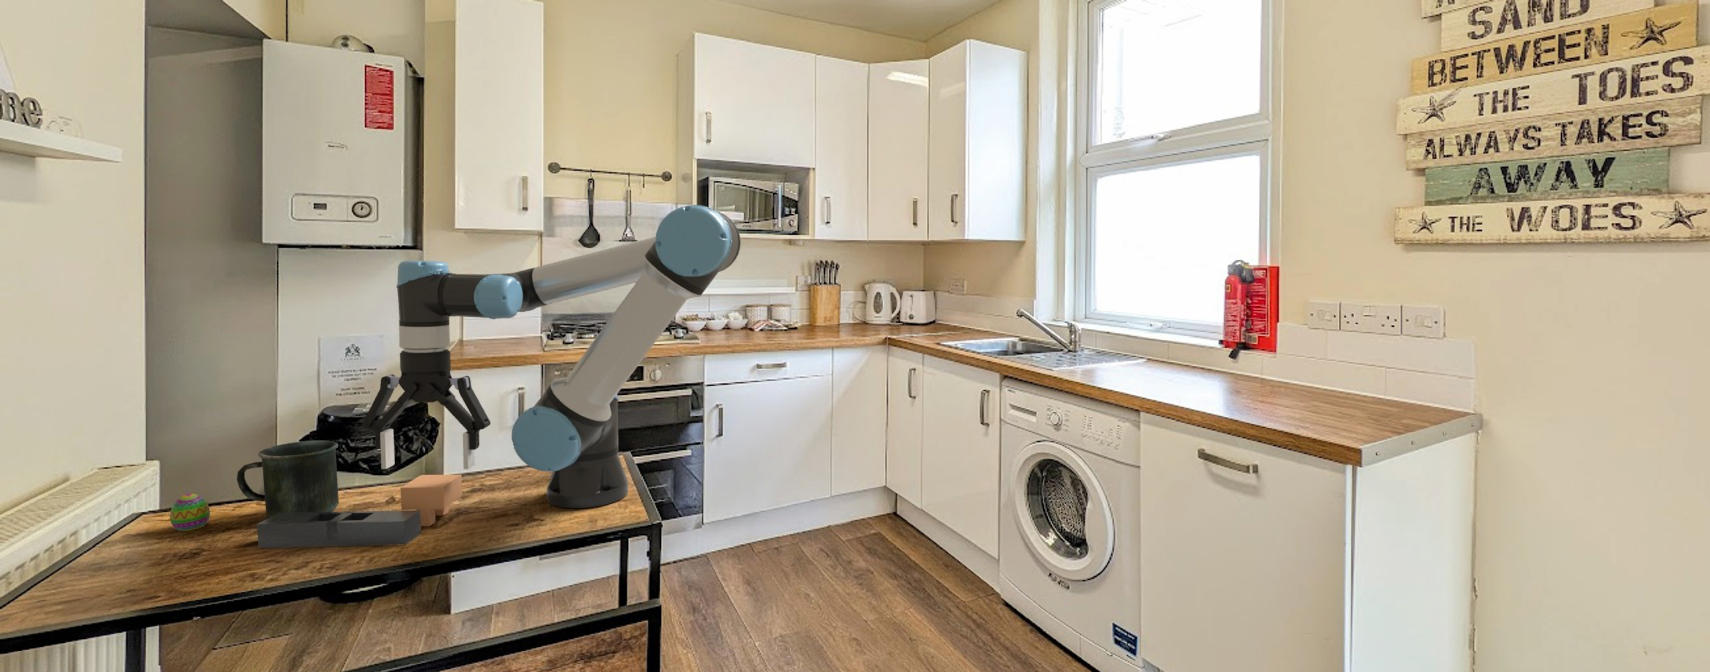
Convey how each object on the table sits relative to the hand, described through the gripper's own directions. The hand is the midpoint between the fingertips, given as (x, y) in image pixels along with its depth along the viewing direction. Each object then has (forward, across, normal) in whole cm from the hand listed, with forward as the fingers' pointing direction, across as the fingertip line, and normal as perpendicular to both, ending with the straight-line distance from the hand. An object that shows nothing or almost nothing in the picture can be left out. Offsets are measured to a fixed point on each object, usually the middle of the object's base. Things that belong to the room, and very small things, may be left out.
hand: (428, 467), depth 122 cm
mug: (+10, +25, -4) cm, 28 cm away
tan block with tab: (+10, -1, 0) cm, 10 cm away
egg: (+10, +37, +2) cm, 39 cm away
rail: (+10, +9, +9) cm, 16 cm away
